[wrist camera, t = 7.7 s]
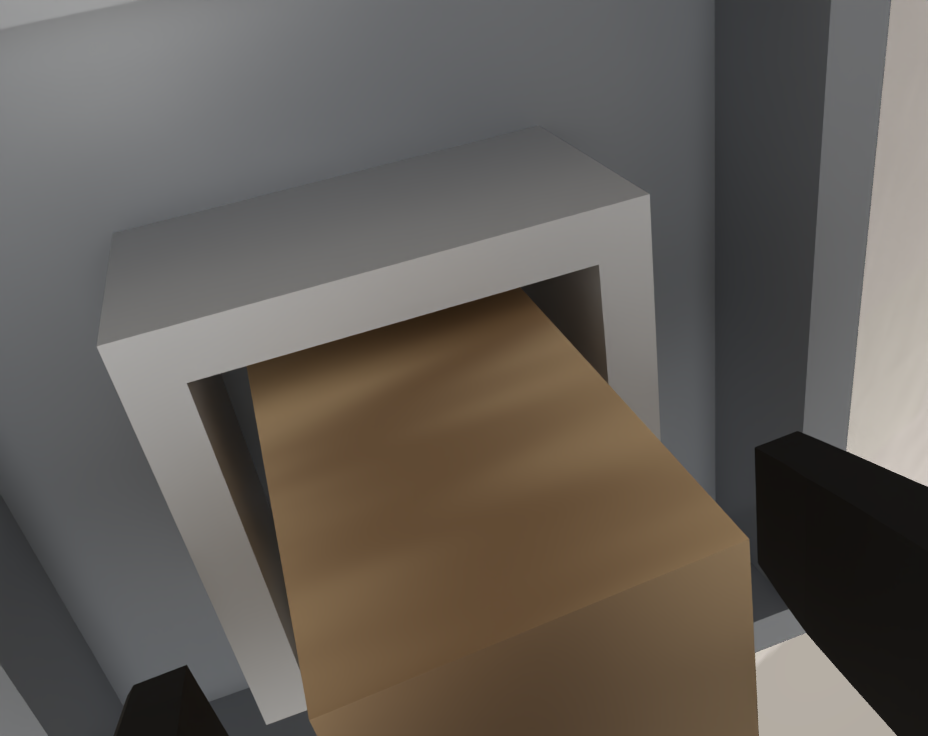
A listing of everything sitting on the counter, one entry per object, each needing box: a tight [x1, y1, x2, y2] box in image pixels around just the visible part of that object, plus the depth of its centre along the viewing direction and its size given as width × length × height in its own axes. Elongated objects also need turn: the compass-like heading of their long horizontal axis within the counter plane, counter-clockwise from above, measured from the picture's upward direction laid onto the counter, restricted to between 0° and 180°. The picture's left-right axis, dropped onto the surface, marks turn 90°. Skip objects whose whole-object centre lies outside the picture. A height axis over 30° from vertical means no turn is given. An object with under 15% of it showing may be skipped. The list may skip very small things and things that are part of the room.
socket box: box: [0, 0, 891, 736], centre depth 15 cm, size 16×16×5 cm
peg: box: [247, 287, 759, 736], centre depth 12 cm, size 4×4×9 cm
